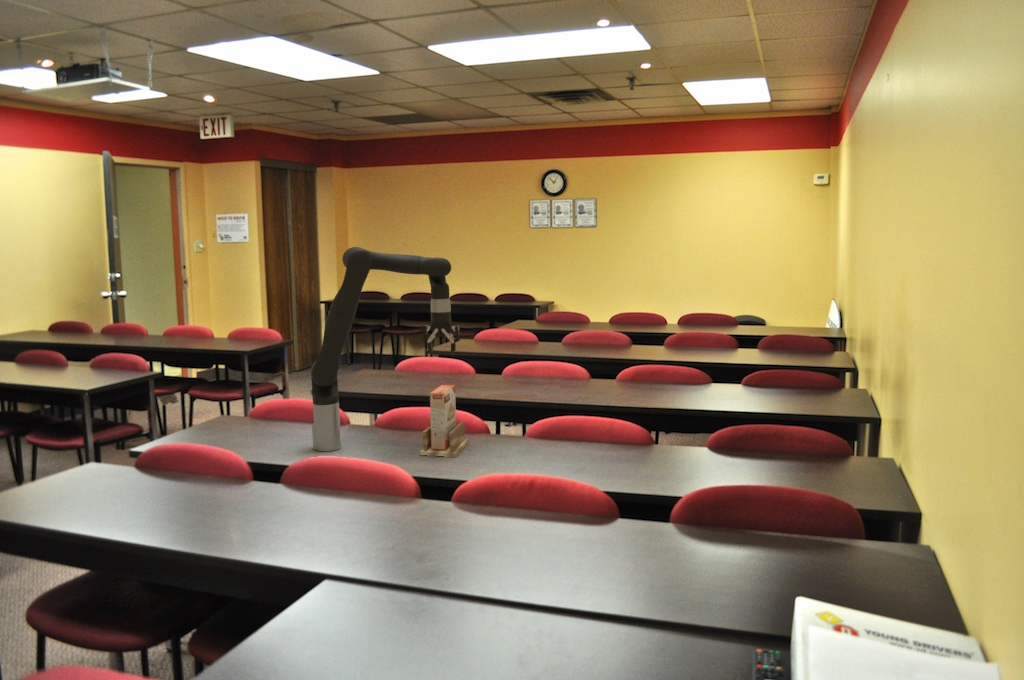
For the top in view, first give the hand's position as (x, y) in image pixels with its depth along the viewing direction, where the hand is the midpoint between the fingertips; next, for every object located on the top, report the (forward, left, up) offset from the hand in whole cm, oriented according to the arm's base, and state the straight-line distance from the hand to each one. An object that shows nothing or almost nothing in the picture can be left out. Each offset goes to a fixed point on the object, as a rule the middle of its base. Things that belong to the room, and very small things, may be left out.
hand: (442, 352), depth 296 cm
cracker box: (+6, -20, -31) cm, 37 cm away
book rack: (+6, -20, -32) cm, 38 cm away
